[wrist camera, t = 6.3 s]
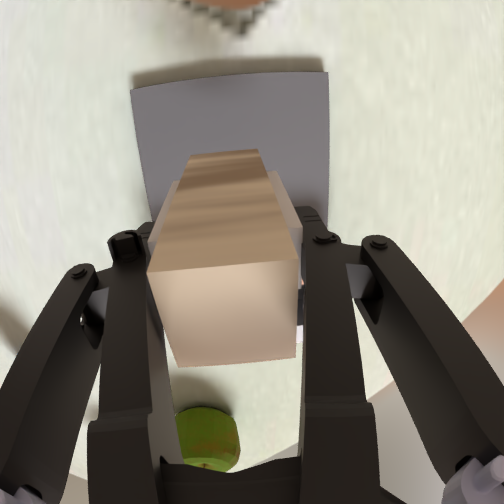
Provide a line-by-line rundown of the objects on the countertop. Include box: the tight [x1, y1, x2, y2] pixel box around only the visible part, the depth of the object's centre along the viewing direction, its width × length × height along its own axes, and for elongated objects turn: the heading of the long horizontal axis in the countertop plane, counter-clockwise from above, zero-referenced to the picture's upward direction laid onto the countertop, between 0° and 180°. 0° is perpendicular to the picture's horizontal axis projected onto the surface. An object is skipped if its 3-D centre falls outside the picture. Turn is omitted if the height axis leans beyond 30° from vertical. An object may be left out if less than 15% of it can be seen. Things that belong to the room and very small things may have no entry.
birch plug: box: [146, 149, 299, 367], centre depth 14 cm, size 4×4×12 cm
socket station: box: [130, 72, 329, 343], centre depth 28 cm, size 26×16×6 cm, turn 4°
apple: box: [175, 407, 241, 472], centre depth 43 cm, size 11×11×11 cm
